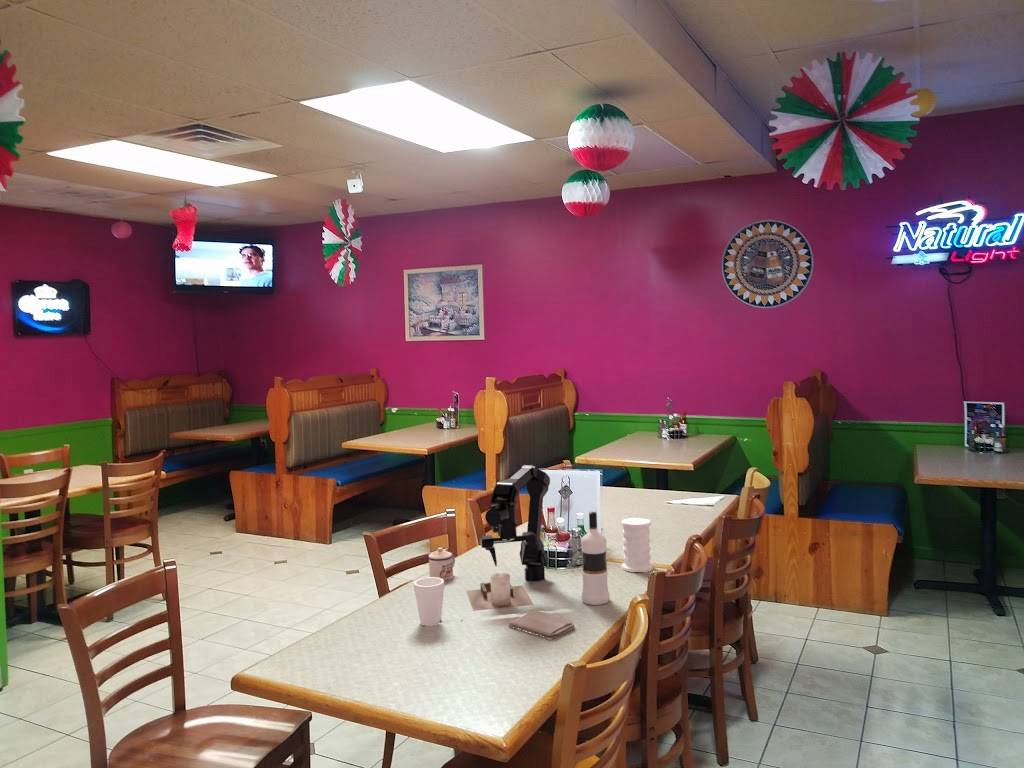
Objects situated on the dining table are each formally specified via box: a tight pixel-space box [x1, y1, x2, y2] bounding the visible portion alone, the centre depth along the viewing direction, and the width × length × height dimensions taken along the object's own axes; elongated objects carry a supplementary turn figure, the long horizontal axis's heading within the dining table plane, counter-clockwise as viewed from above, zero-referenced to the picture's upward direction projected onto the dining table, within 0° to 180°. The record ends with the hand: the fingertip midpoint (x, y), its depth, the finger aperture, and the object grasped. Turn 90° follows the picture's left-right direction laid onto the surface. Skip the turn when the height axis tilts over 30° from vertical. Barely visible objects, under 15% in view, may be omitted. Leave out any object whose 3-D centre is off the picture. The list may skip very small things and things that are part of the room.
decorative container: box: [620, 517, 654, 573], centre depth 286 cm, size 12×12×18 cm
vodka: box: [580, 511, 611, 606], centre depth 252 cm, size 9×9×30 cm
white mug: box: [489, 572, 511, 606], centre depth 250 cm, size 10×6×9 cm, turn 10°
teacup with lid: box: [427, 547, 456, 581], centre depth 283 cm, size 12×9×12 cm
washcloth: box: [508, 609, 576, 641], centre depth 231 cm, size 12×18×3 cm, turn 49°
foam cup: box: [413, 576, 445, 627], centre depth 239 cm, size 10×9×13 cm
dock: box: [466, 581, 534, 611], centre depth 257 cm, size 20×20×4 cm
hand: (509, 564), depth 257 cm, fingers open, 9 cm apart
